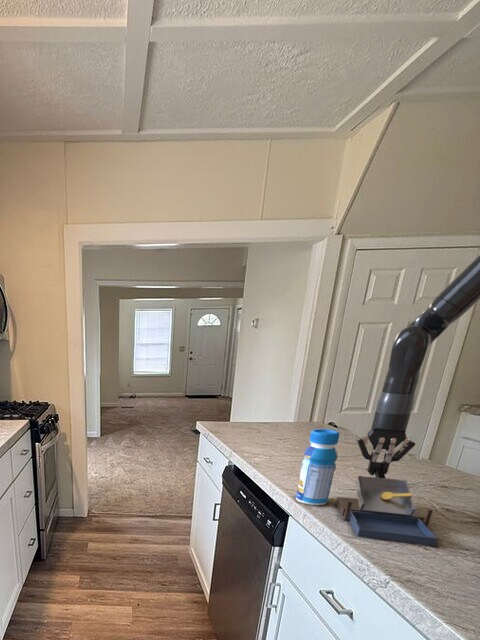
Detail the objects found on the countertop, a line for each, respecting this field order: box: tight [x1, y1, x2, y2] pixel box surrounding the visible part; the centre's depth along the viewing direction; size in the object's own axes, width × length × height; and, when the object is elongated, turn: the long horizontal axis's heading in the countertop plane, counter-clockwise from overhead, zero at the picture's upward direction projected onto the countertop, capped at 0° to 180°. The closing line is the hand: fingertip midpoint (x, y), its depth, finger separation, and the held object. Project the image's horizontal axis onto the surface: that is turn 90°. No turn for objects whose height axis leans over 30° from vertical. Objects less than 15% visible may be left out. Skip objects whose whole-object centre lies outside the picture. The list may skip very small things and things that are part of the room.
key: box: [381, 492, 413, 500], centre depth 101 cm, size 6×3×1 cm
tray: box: [348, 511, 439, 547], centre depth 96 cm, size 15×12×2 cm
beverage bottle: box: [295, 428, 340, 506], centre depth 111 cm, size 8×8×20 cm
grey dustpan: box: [354, 461, 416, 516], centre depth 104 cm, size 11×18×2 cm, turn 159°
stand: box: [335, 496, 434, 528], centre depth 104 cm, size 17×13×5 cm
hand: (376, 474), depth 110 cm, fingers closed on grey dustpan
